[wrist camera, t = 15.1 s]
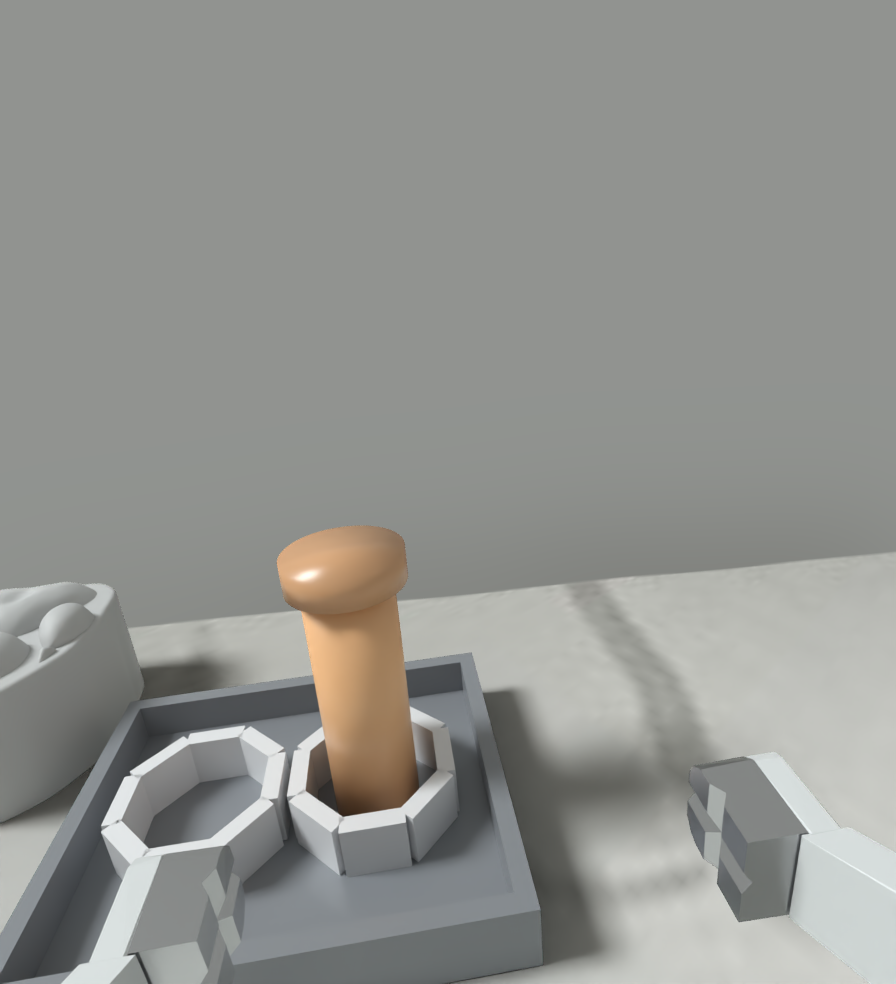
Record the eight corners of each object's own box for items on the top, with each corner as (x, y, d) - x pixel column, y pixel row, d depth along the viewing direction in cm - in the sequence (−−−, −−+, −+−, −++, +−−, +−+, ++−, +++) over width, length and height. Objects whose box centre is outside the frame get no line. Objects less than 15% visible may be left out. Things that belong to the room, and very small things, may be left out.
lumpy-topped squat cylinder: (160, 665, 44) (128, 557, 41) (75, 816, 32) (21, 678, 29) (10, 685, 43) (-34, 576, 40) (-136, 847, 31) (-214, 708, 28)
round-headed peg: (359, 750, 33) (323, 521, 28) (448, 773, 31) (425, 531, 26) (303, 829, 28) (249, 572, 24) (403, 862, 26) (365, 589, 22)
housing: (542, 965, 23) (540, 899, 22) (-14, 1070, 21) (-51, 1005, 20) (474, 693, 38) (471, 645, 37) (143, 742, 36) (128, 694, 35)
